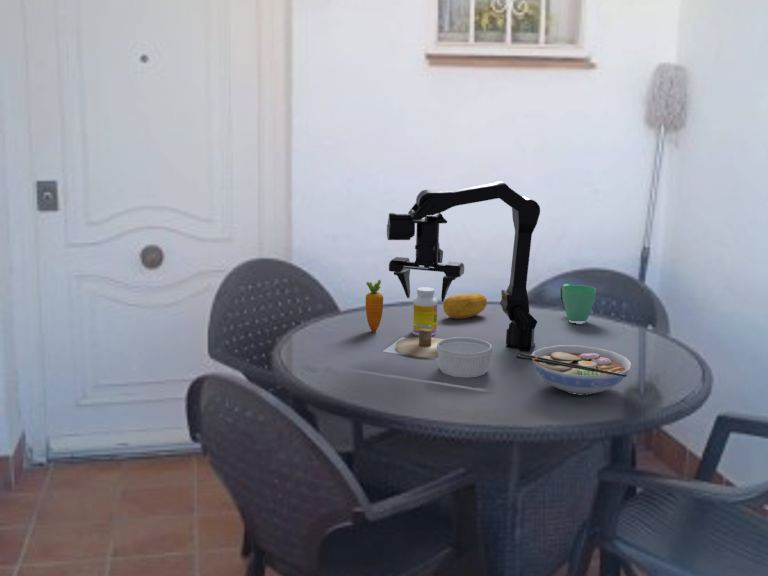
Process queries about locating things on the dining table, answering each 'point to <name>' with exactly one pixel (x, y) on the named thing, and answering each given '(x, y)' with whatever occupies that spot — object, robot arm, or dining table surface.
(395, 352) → the mat
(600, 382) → the ramen bowl
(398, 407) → the dining table surface
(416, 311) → the supplement bottle
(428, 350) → the lid
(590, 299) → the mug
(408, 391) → the dining table surface
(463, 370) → the ramekin
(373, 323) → the carrot
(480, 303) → the potato
